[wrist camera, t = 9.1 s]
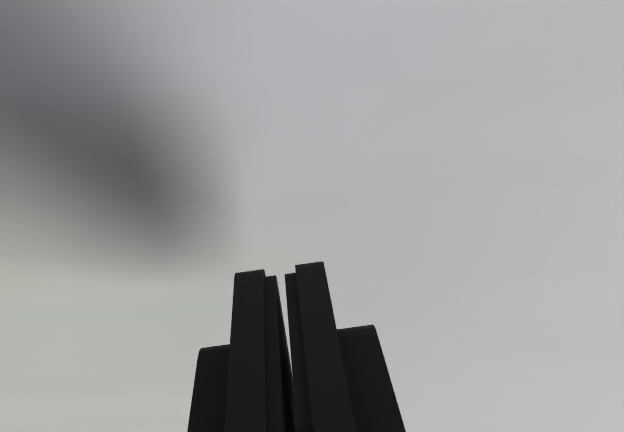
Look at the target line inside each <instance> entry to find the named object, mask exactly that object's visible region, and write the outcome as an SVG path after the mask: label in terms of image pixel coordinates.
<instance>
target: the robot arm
mask: <svg viewBox="0 0 624 432" xmlns="http://www.w3.org/2000/svg"><path fill="white" fill-rule="evenodd" d="M295 269H296V273H290V274H285V283H286V296H287V309H288V322H289V335H290V348H291V361H292V371H291V364H290V358H289V352H288V346H287V339H286V333H285V327H284V321H283V314H282V308H281V302H280V296H279V290H278V283H277V278H276V275H275V276H268V277H266V276H265V271H264V269H263V270H255V271H248V272H240V273H235V277H234V292H233V307H232V322H231V337H230V344H228V345H221V346H214V347H207V348H201V349H200V351H199V354H198V360H197V367H196V374H195V381H194V388H193V396H192V403H191V410H190V417H189V424H188V431H187V432H406V431H405V428H404V424H403V421H402V417H401V414H400V411H399V407H398V404H397V400H396V397H395V393H394V390H393V387H392V383H391V380H390V376H389V373H388V369H387V366H386V363H385V359H384V356H383V352H382V349H381V345H380V342H379V339H378V335H377V332H376V329H375V327H374V325H367V326H360V327H352V328H345V329H338V330H337V329H336V324H335V319H334V314H333V309H332V303H331V298H330V293H329V288H328V283H327V278H326V273H325V267H324V263H323V262H315V263H308V264H300V265H295ZM292 374H293V377H292Z"/></svg>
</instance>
